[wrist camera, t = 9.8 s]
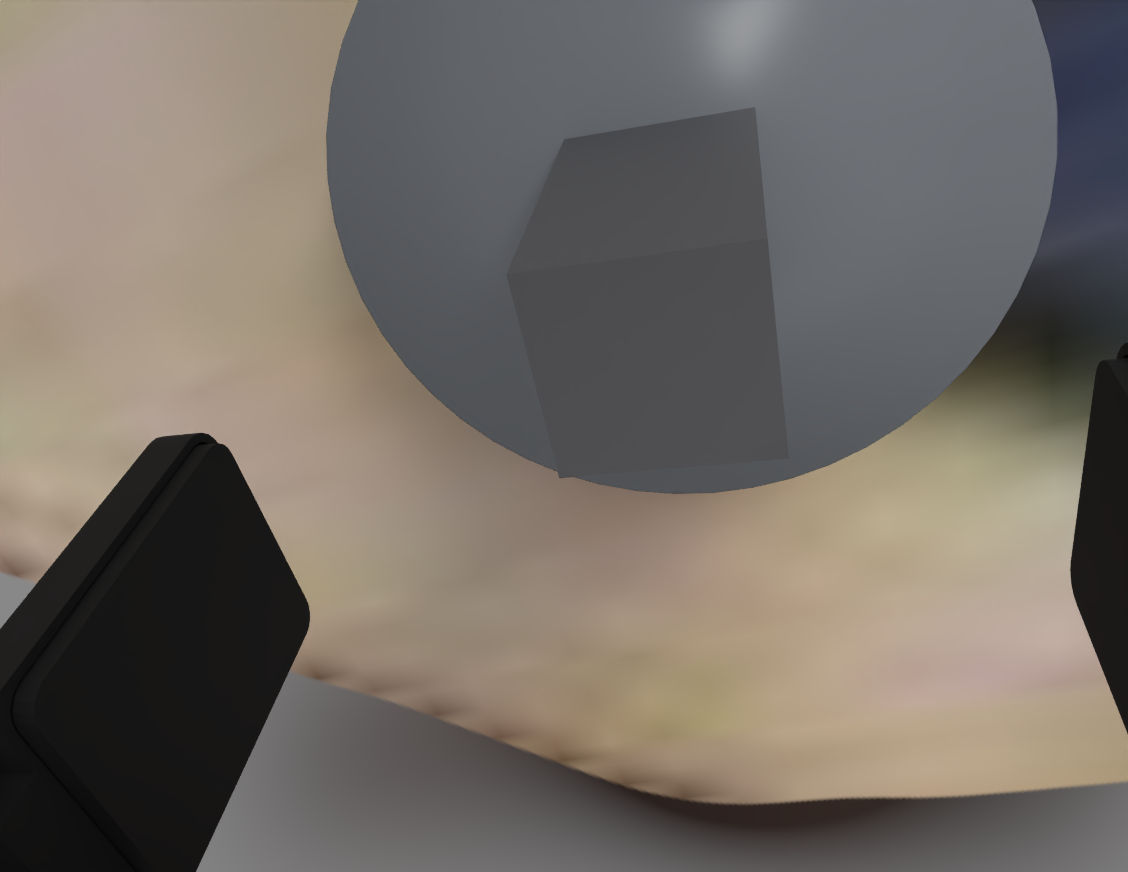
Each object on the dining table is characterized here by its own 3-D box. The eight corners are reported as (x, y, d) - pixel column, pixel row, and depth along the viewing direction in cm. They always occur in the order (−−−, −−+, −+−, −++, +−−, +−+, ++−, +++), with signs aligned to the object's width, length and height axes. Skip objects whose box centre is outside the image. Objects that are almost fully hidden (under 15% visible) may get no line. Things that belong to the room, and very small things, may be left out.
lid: (233, -111, 17) (3, -54, 12) (1076, -322, 14) (1307, -382, 9) (444, 495, 25) (364, 702, 19) (1023, 446, 22) (1126, 678, 16)
